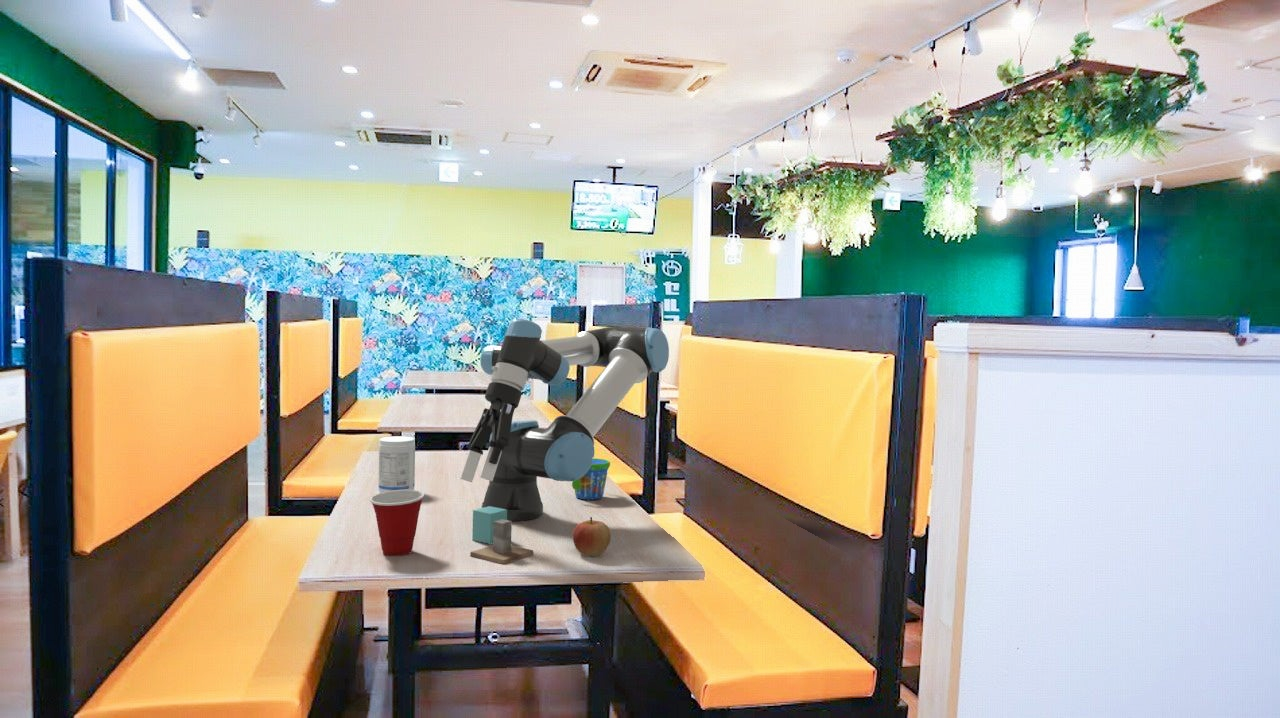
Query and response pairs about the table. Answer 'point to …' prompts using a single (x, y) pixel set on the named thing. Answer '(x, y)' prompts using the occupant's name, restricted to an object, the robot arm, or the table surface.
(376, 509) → the plastic cup
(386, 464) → the supplement tub
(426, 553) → the table surface
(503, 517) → the teal rectangular block
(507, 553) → the peg stand
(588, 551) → the apple
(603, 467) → the snack cup
